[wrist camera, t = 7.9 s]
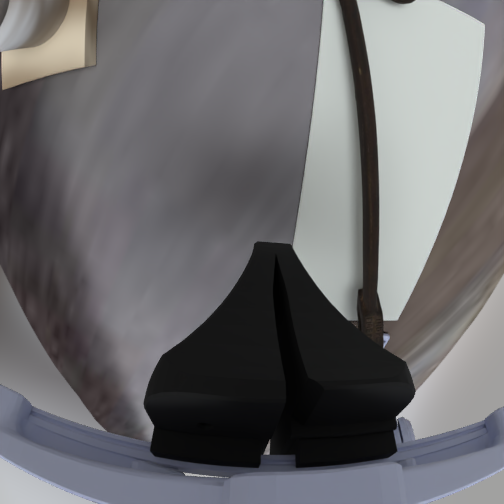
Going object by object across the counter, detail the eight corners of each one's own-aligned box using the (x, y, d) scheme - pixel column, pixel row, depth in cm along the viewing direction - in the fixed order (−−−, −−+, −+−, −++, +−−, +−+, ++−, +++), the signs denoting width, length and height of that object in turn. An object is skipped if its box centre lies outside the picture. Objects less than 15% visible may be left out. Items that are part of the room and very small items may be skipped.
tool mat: (396, 318, 27) (397, 320, 27) (279, 316, 27) (279, 318, 27) (483, 24, 11) (484, 24, 11) (325, -35, 11) (326, -36, 11)
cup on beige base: (95, 65, 15) (24, 78, 9) (14, 86, 15) (-54, 111, 9) (106, -59, 9) (47, -88, 3) (20, -24, 9) (-45, -26, 3)
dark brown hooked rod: (396, -15, 12) (397, 327, 27) (324, -19, 13) (348, 333, 28) (427, -36, 7) (409, 368, 23) (337, -47, 8) (356, 376, 24)
